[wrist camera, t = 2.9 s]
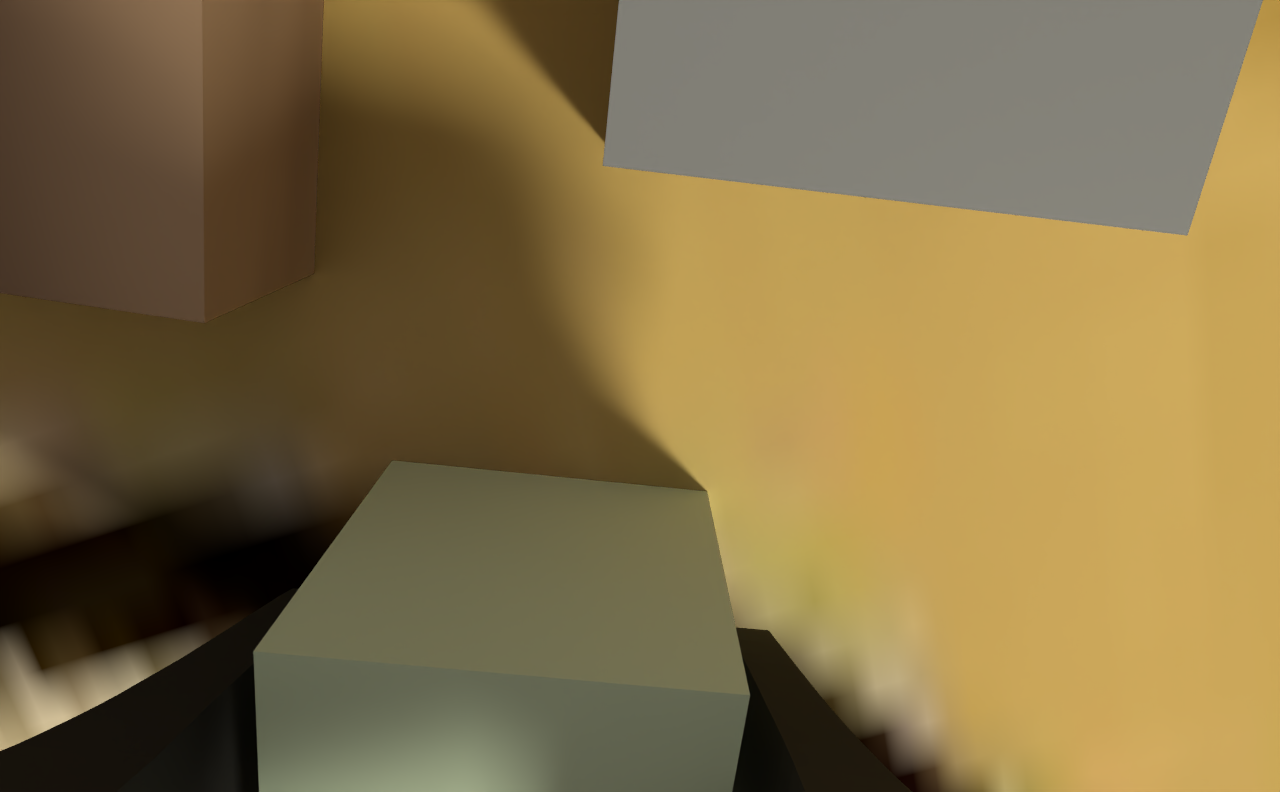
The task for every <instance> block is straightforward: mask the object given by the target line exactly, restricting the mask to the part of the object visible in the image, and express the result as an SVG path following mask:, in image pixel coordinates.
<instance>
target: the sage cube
mask: <svg viewBox="0 0 1280 792" xmlns="http://www.w3.org/2000/svg"><path fill="white" fill-rule="evenodd" d="M253 654H254V679H255V704H256V728H257V753H258V778H259V792H732V790H733V784H734V779H735V774H736V768H737V763H738V758H739V752H740V747H741V741H742V736H743V731H744V725H745V720H746V714H747V709H748V704H749V698H750V692H749V688H748V683H747V678H746V674H745V669H744V664H743V659H742V655H741V650H740V645H739V640H738V636H737V631H736V626H735V621H734V617H733V612H732V607H731V603H730V598H729V593H728V588H727V584H726V579H725V574H724V569H723V565H722V560H721V555H720V551H719V546H718V541H717V536H716V532H715V527H714V522H713V517H712V513H711V508H710V503H709V498H708V494H707V491H698V490H688V489H678V488H668V487H658V486H648V485H638V484H627V483H617V482H607V481H597V480H587V479H577V478H567V477H556V476H546V475H536V474H526V473H516V472H506V471H496V470H485V469H475V468H465V467H455V466H445V465H435V464H425V463H414V462H404V461H394V460H392V461H391V463H390V464H389V465H388V467H387V468H386V470H385V471H384V472H383V474H382V475H381V476H380V478H379V479H378V481H377V482H376V483H375V485H374V486H373V487H372V489H371V490H370V492H369V493H368V494H367V496H366V497H365V498H364V500H363V501H362V503H361V504H360V505H359V507H358V508H357V509H356V511H355V512H354V514H353V515H352V516H351V518H350V519H349V520H348V522H347V523H346V525H345V526H344V527H343V529H342V530H341V531H340V533H339V534H338V536H337V537H336V538H335V540H334V541H333V542H332V544H331V545H330V547H329V548H328V549H327V551H326V552H325V553H324V555H323V556H322V558H321V559H320V560H319V562H318V563H317V565H316V566H315V567H314V569H313V570H312V571H311V573H310V574H309V576H308V577H307V578H306V580H305V581H304V582H303V584H302V585H301V587H300V588H299V589H298V591H297V592H296V593H295V595H294V596H293V598H292V599H291V600H290V602H289V603H288V604H287V606H286V607H285V609H284V610H283V611H282V613H281V614H280V615H279V617H278V618H277V620H276V621H275V622H274V624H273V625H272V626H271V628H270V629H269V631H268V632H267V633H266V635H265V636H264V637H263V639H262V640H261V642H260V643H259V644H258V646H257V647H256V648H255V650H254V651H253Z"/></svg>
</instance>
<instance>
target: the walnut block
mask: <svg viewBox="0 0 1280 792" xmlns="http://www.w3.org/2000/svg"><path fill="white" fill-rule="evenodd" d="M323 8H324V0H0V293H4V294H11V295H17V296H24V297H31V298H38V299H45V300H51V301H58V302H65V303H72V304H78V305H85V306H92V307H99V308H106V309H112V310H119V311H126V312H133V313H140V314H146V315H153V316H160V317H167V318H173V319H180V320H187V321H194V322H201V323H206V322H208V321H210V320H212V319H215V318H217V317H219V316H221V315H224V314H226V313H228V312H230V311H232V310H235V309H237V308H239V307H241V306H243V305H246V304H248V303H250V302H252V301H255V300H257V299H259V298H261V297H263V296H266V295H268V294H270V293H272V292H274V291H277V290H279V289H281V288H283V287H285V286H288V285H290V284H292V283H294V282H297V281H299V280H301V279H303V278H305V277H308V276H310V275H312V274H314V266H315V237H316V209H317V180H318V151H319V123H320V94H321V65H322V36H323Z"/></svg>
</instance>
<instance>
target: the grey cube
mask: <svg viewBox="0 0 1280 792" xmlns="http://www.w3.org/2000/svg"><path fill="white" fill-rule="evenodd" d="M1262 1H1263V0H619V5H618V16H617V26H616V36H615V47H614V57H613V67H612V77H611V88H610V98H609V108H608V118H607V129H606V139H605V149H604V159H603V166H609V167H617V168H625V169H634V170H642V171H651V172H659V173H667V174H676V175H684V176H693V177H701V178H709V179H718V180H726V181H735V182H743V183H751V184H760V185H768V186H777V187H785V188H793V189H802V190H810V191H819V192H827V193H835V194H844V195H852V196H861V197H869V198H877V199H886V200H894V201H903V202H911V203H919V204H928V205H936V206H945V207H953V208H961V209H970V210H978V211H987V212H995V213H1003V214H1012V215H1020V216H1029V217H1037V218H1045V219H1054V220H1062V221H1071V222H1079V223H1087V224H1096V225H1104V226H1113V227H1121V228H1129V229H1138V230H1146V231H1155V232H1163V233H1171V234H1180V235H1188V232H1189V229H1190V226H1191V223H1192V219H1193V216H1194V213H1195V210H1196V207H1197V204H1198V201H1199V198H1200V195H1201V191H1202V188H1203V185H1204V182H1205V179H1206V176H1207V173H1208V170H1209V166H1210V163H1211V160H1212V157H1213V154H1214V151H1215V148H1216V145H1217V142H1218V138H1219V135H1220V132H1221V129H1222V126H1223V123H1224V120H1225V117H1226V113H1227V110H1228V107H1229V104H1230V101H1231V98H1232V95H1233V92H1234V89H1235V85H1236V82H1237V79H1238V76H1239V73H1240V70H1241V67H1242V64H1243V60H1244V57H1245V54H1246V51H1247V48H1248V45H1249V42H1250V39H1251V36H1252V32H1253V29H1254V26H1255V23H1256V20H1257V17H1258V14H1259V11H1260V7H1261V4H1262Z"/></svg>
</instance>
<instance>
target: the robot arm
mask: <svg viewBox="0 0 1280 792" xmlns="http://www.w3.org/2000/svg"><path fill="white" fill-rule="evenodd" d="M297 591H298V589H295V588H293V589H291V590H289V591H287V592H286V593H284V594H282V595H280V596H279V597H277V598H276V599H274V600H272V601H271V602H269V603H268V604H266V605H264V606H263V607H261V608H260V609H258V610H257V611H255V612H254V613H252V614H251V615H249V616H247V617H246V618H244V619H243V620H241V621H240V622H238V623H237V624H235V625H233V626H232V627H230V628H229V629H227V630H226V631H224V632H222V633H221V634H219V635H218V636H216V637H215V638H213V639H211V640H210V641H208V642H207V643H205V644H203V645H202V646H200V647H199V648H197V649H195V650H194V651H192V652H191V653H189V654H188V655H186V656H184V657H183V658H181V659H179V660H178V661H176V662H174V663H172V664H171V665H169V666H167V667H165V668H164V669H162V670H160V671H158V672H157V673H155V674H153V675H151V676H150V677H148V678H146V679H144V680H143V681H141V682H139V683H138V684H136V685H134V686H132V687H131V688H129V689H127V690H125V691H124V692H122V693H120V694H118V695H117V696H115V697H113V698H111V699H109V700H107V701H105V702H104V703H102V704H100V705H98V706H96V707H94V708H92V709H90V710H88V711H86V712H84V713H82V714H80V715H78V716H76V717H74V718H72V719H70V720H68V721H66V722H64V723H62V724H60V725H57V726H55V727H53V728H51V729H49V730H47V731H45V732H43V733H41V734H39V735H36V736H34V737H32V738H30V739H28V740H25V741H23V742H21V743H19V744H17V745H14V746H12V747H9V748H7V749H5V750H2V751H0V792H259V778H258V753H257V728H256V704H255V679H254V654H253V651H254V650H255V648H256V647H257V646H258V644H259V643H260V642H261V640H262V639H263V637H264V636H265V635H266V633H267V632H268V631H269V629H270V628H271V626H272V625H273V624H274V622H275V621H276V620H277V618H278V617H279V615H280V614H281V613H282V611H283V610H284V609H285V607H286V606H287V604H288V603H289V602H290V600H291V599H292V598H293V596H294V595H295V593H296V592H297ZM736 631H737V636H738V640H739V645H740V650H741V655H742V659H743V664H744V669H745V674H746V678H747V683H748V688H749V692H750V698H749V704H748V709H747V714H746V720H745V725H744V731H743V736H742V741H741V747H740V752H739V758H738V763H737V768H736V774H735V779H734V784H733V790H732V792H912V791H911V790H910V789H908V788H907V787H906V786H905V785H904V784H903V783H902V782H901V781H900V780H899V779H897V778H896V777H895V776H894V775H893V774H892V773H891V772H890V771H889V770H888V769H887V768H886V767H885V766H884V765H883V764H882V763H881V762H880V761H879V760H878V759H877V758H876V757H875V756H874V755H873V754H872V753H871V752H870V751H869V750H868V748H867V747H866V746H865V745H864V744H863V743H862V742H861V741H860V740H859V739H858V738H857V737H856V736H855V735H854V734H853V733H852V732H851V731H850V729H849V728H848V727H847V726H846V725H845V724H844V723H843V722H842V721H841V719H840V718H839V717H838V716H837V715H836V714H835V713H834V711H833V710H832V709H831V708H830V707H829V706H828V704H827V703H826V702H825V701H824V700H823V698H822V697H821V696H820V695H819V694H818V692H817V691H816V690H815V689H814V687H813V686H812V685H811V684H810V682H809V681H808V680H807V679H806V677H805V676H804V675H803V674H802V672H801V671H800V670H799V669H798V667H797V666H796V665H795V664H794V662H793V661H792V660H791V658H790V657H789V656H788V655H787V653H786V652H785V651H784V649H783V648H782V647H781V646H780V644H779V643H778V642H777V641H776V639H775V638H774V637H773V636H772V634H771V633H770V632H769V631H768V630H758V629H747V628H736Z"/></svg>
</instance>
